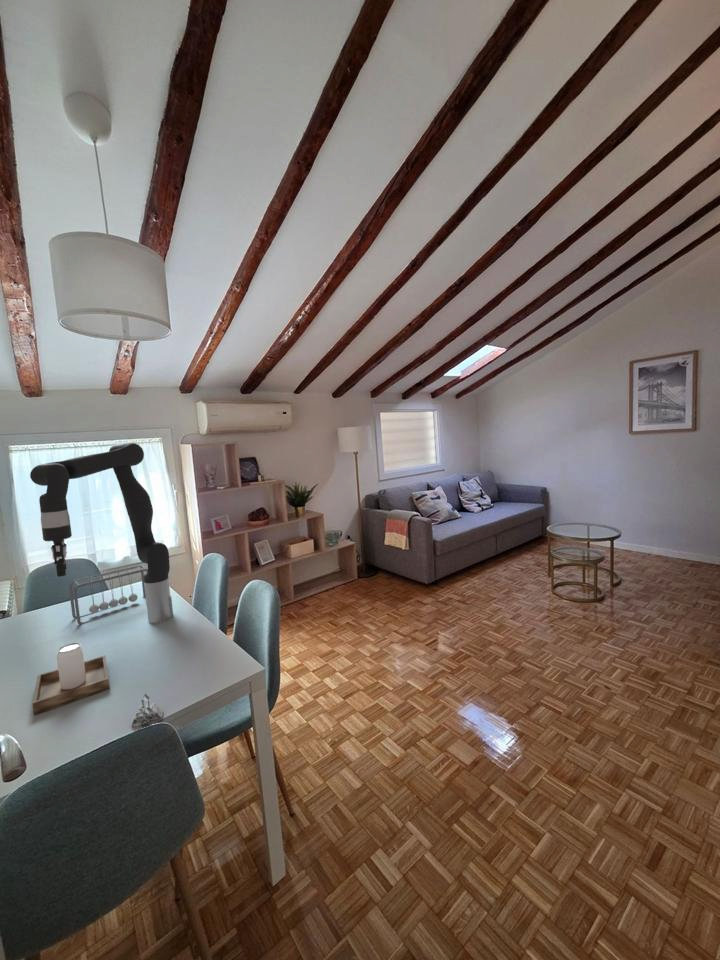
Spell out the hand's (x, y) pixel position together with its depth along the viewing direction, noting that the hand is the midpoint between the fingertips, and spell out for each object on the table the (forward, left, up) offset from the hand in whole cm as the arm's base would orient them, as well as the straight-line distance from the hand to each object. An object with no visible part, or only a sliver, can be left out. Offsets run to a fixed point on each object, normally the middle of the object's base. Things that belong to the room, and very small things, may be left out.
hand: (62, 573), depth 132 cm
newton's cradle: (-15, -49, -33) cm, 61 cm away
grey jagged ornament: (-15, +49, -34) cm, 61 cm away
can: (0, +14, -32) cm, 35 cm away
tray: (0, +14, -33) cm, 36 cm away
